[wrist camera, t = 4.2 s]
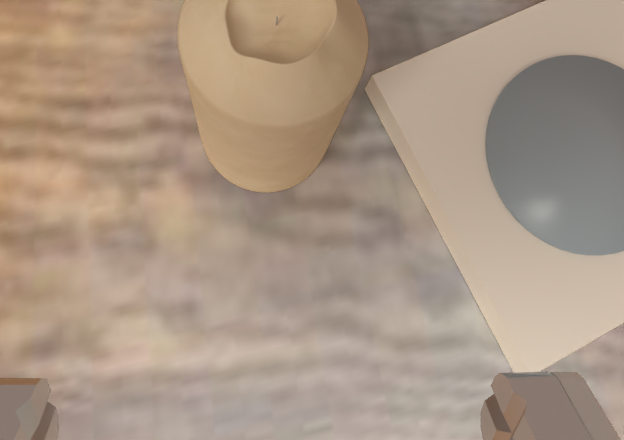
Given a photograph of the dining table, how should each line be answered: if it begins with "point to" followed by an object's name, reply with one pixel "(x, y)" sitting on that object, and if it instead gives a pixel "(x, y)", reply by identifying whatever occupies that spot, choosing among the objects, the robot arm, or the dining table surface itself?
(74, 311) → the dining table surface
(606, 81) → the base board
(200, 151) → the dining table surface
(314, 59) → the candle
